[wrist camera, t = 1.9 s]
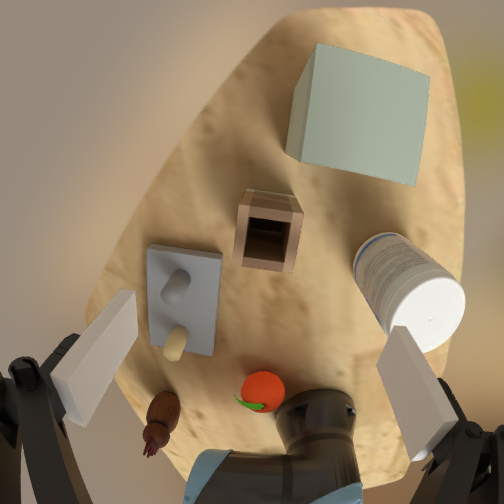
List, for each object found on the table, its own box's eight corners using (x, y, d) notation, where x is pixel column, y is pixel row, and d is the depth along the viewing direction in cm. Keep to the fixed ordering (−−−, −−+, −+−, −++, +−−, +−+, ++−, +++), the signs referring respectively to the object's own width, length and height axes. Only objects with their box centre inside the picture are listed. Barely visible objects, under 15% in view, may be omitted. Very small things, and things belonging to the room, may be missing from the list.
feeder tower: (348, 167, 35) (414, 191, 18) (284, 155, 35) (300, 167, 18) (357, 103, 32) (429, 76, 15) (293, 90, 32) (316, 42, 15)
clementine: (236, 389, 49) (231, 419, 42) (236, 360, 46) (231, 391, 40) (282, 391, 48) (282, 422, 42) (286, 363, 46) (288, 395, 39)
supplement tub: (342, 287, 41) (371, 353, 27) (362, 222, 37) (408, 267, 24) (400, 297, 41) (442, 358, 27) (422, 238, 37) (480, 283, 24)
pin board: (214, 348, 46) (206, 378, 39) (153, 336, 46) (139, 364, 39) (223, 253, 40) (214, 276, 33) (151, 243, 40) (131, 263, 33)
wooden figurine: (156, 383, 50) (130, 445, 36) (186, 392, 50) (166, 458, 36) (153, 403, 52) (131, 462, 38) (181, 412, 52) (163, 473, 38)
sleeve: (287, 241, 39) (292, 273, 29) (240, 234, 39) (231, 264, 29) (294, 195, 37) (304, 213, 27) (246, 188, 37) (238, 204, 27)
